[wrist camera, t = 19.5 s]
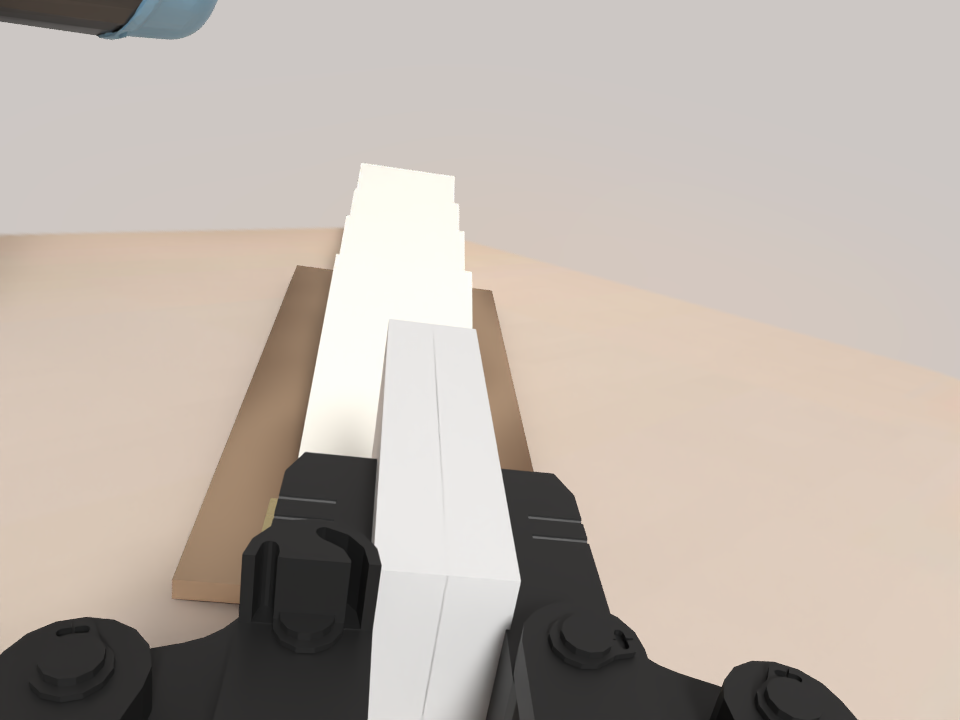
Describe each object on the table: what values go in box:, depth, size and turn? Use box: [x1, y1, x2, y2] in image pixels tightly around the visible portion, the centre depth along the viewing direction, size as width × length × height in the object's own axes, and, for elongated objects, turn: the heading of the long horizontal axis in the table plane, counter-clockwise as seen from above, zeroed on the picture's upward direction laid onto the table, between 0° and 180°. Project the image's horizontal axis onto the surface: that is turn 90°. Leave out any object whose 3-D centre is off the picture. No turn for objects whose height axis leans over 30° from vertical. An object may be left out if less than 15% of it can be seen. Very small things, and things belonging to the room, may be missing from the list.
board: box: [172, 265, 533, 604], centre depth 32 cm, size 10×24×1 cm, turn 3°
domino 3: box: [340, 216, 465, 271], centre depth 32 cm, size 2×5×10 cm
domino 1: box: [357, 163, 455, 203], centre depth 42 cm, size 2×5×10 cm
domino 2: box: [350, 189, 459, 231], centre depth 37 cm, size 2×5×10 cm
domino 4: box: [298, 254, 472, 458], centre depth 28 cm, size 2×5×10 cm
